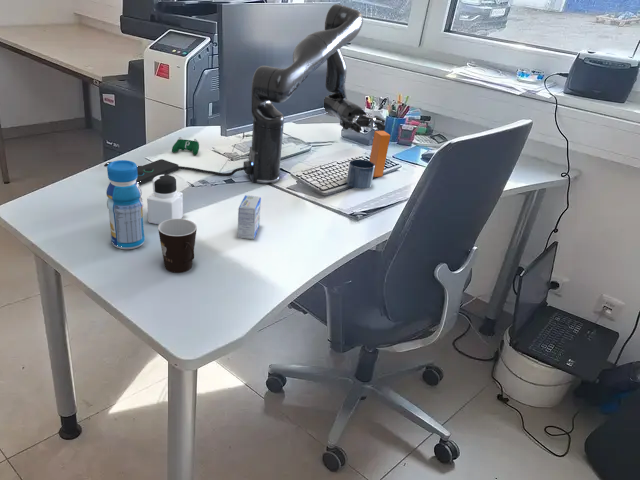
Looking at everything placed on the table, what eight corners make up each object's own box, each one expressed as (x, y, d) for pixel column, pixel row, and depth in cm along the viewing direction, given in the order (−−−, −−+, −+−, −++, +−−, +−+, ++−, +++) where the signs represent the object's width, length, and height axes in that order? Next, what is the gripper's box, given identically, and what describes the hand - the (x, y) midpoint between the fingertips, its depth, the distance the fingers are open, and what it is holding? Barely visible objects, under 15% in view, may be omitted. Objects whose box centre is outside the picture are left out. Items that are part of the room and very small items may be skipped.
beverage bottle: (129, 254, 133) (123, 174, 122) (103, 244, 136) (95, 165, 125) (152, 240, 139) (148, 163, 128) (126, 231, 142) (120, 155, 131)
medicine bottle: (183, 216, 151) (182, 174, 144) (172, 227, 145) (171, 184, 139) (159, 212, 153) (157, 170, 146) (147, 222, 147) (145, 179, 140)
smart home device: (115, 174, 169) (160, 158, 183) (115, 180, 170) (161, 163, 184) (134, 182, 165) (179, 164, 179) (134, 187, 166) (179, 169, 180)
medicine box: (254, 240, 141) (256, 209, 137) (236, 237, 142) (238, 206, 137) (259, 226, 148) (261, 196, 143) (243, 224, 148) (244, 194, 144)
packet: (373, 178, 180) (381, 135, 173) (367, 173, 184) (374, 130, 176) (382, 177, 181) (390, 135, 173) (375, 172, 185) (383, 130, 177)
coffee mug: (160, 256, 132) (158, 218, 127) (196, 256, 133) (196, 218, 128) (158, 282, 123) (156, 242, 117) (197, 282, 124) (197, 242, 118)
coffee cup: (352, 190, 171) (356, 169, 167) (342, 181, 177) (345, 160, 173) (375, 189, 173) (379, 167, 169) (364, 179, 179) (368, 158, 175)
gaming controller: (198, 159, 194) (202, 143, 195) (196, 153, 190) (200, 137, 191) (173, 155, 195) (177, 140, 196) (170, 150, 191) (174, 135, 193)
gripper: (333, 104, 190) (353, 118, 177) (371, 103, 193) (393, 116, 180) (330, 126, 194) (349, 141, 181) (367, 125, 198) (389, 139, 185)
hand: (371, 129), depth 181 cm, fingers open, 8 cm apart
